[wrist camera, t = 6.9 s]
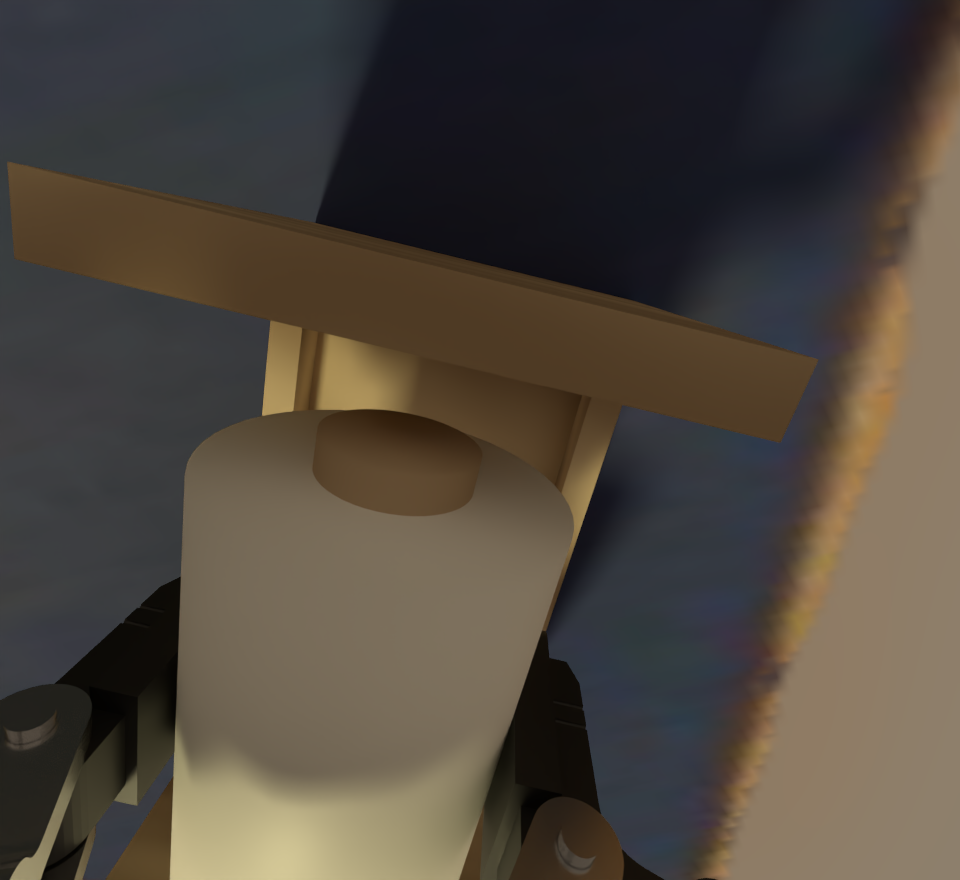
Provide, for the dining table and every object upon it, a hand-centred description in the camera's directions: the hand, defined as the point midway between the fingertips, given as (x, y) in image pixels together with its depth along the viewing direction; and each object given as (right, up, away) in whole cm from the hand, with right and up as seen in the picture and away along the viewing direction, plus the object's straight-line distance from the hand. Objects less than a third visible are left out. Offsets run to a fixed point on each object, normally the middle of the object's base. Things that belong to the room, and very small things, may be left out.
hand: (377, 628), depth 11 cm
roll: (0, 0, +1) cm, 1 cm away
